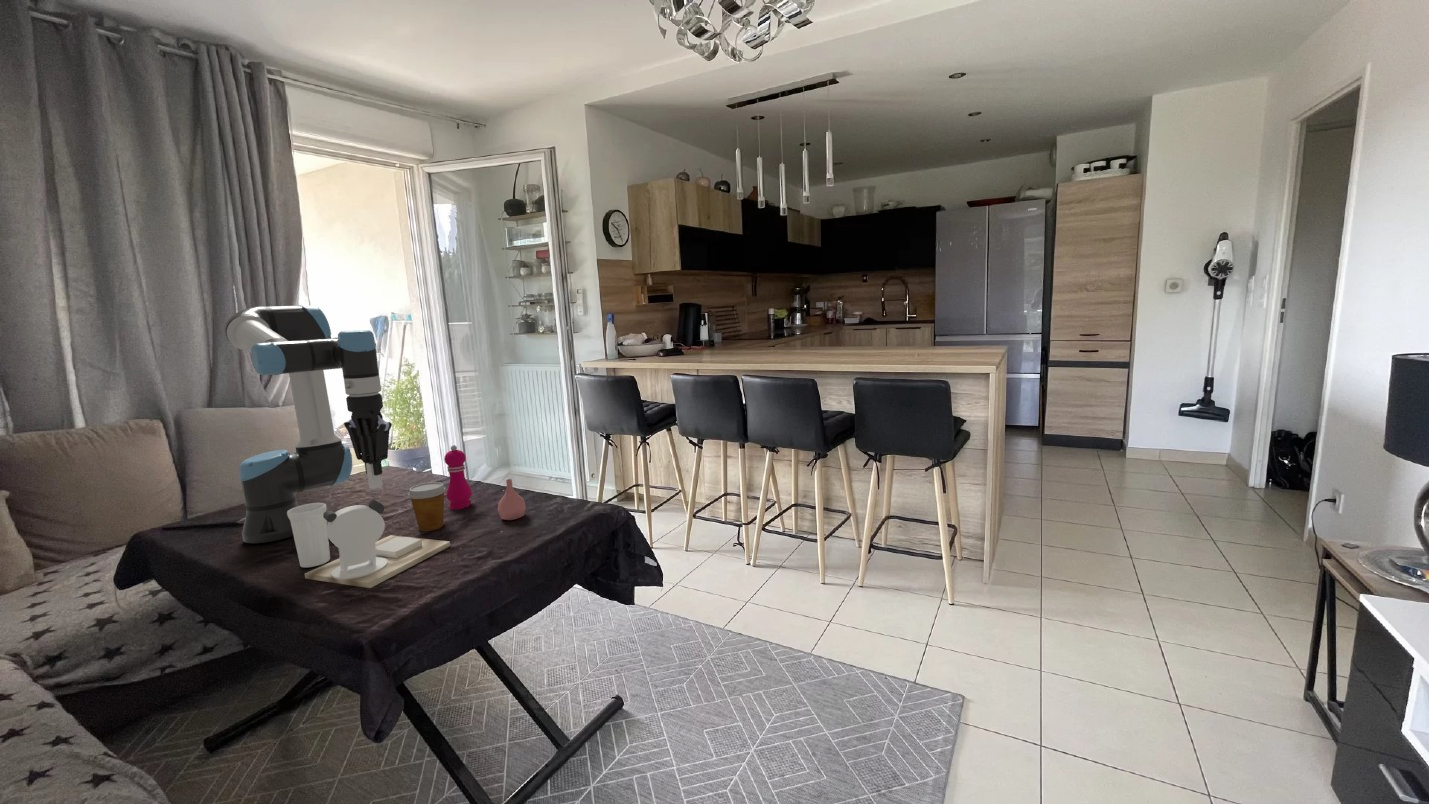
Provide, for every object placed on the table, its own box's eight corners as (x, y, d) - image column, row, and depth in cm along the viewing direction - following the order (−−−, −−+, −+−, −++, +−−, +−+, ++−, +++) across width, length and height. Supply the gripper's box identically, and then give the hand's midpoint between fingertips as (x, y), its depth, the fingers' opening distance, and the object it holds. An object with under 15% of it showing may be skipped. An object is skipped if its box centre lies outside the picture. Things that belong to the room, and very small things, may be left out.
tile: (370, 548, 146) (395, 551, 143) (397, 536, 153) (421, 539, 151) (371, 555, 146) (396, 558, 143) (398, 543, 153) (422, 545, 151)
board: (305, 578, 137) (304, 573, 137) (391, 539, 160) (390, 535, 159) (370, 588, 131) (369, 583, 131) (450, 545, 153) (449, 541, 153)
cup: (291, 573, 141) (282, 516, 138) (300, 560, 148) (291, 506, 146) (331, 566, 144) (322, 510, 141) (337, 554, 151) (329, 500, 149)
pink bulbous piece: (532, 518, 171) (528, 478, 169) (508, 526, 165) (503, 485, 163) (517, 513, 176) (513, 474, 174) (494, 521, 170) (489, 481, 169)
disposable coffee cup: (456, 521, 172) (451, 481, 170) (437, 533, 162) (432, 491, 161) (425, 521, 173) (420, 481, 171) (405, 533, 163) (399, 492, 162)
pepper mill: (443, 511, 181) (435, 448, 178) (457, 503, 188) (449, 442, 185) (464, 511, 180) (457, 448, 177) (477, 504, 187) (471, 442, 184)
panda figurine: (382, 553, 147) (374, 495, 145) (397, 565, 139) (388, 504, 137) (326, 569, 139) (316, 508, 136) (338, 584, 131) (328, 519, 128)
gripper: (329, 396, 142) (343, 490, 146) (370, 397, 138) (383, 494, 142) (357, 391, 149) (369, 481, 153) (397, 392, 145) (408, 484, 149)
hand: (376, 487), depth 148 cm, fingers closed
